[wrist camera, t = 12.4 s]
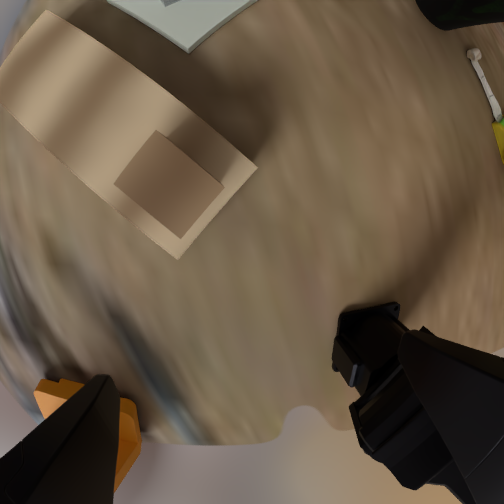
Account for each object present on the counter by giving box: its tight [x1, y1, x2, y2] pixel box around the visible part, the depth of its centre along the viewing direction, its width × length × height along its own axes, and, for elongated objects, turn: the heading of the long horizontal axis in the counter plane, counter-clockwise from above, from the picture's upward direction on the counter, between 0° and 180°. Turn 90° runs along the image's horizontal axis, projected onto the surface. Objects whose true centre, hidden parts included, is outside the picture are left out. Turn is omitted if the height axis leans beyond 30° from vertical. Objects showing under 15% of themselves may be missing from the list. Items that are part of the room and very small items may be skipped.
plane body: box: [0, 10, 257, 260], centre depth 12 cm, size 20×7×6 cm, turn 47°
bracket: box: [34, 378, 142, 492], centre depth 17 cm, size 11×7×12 cm
